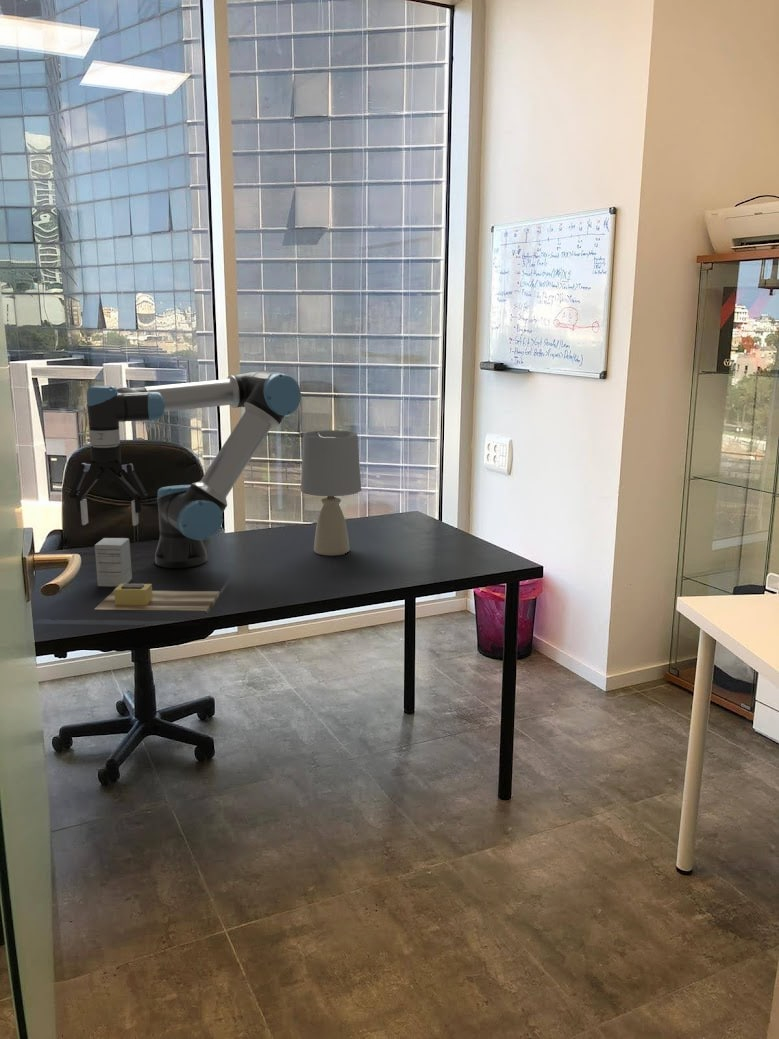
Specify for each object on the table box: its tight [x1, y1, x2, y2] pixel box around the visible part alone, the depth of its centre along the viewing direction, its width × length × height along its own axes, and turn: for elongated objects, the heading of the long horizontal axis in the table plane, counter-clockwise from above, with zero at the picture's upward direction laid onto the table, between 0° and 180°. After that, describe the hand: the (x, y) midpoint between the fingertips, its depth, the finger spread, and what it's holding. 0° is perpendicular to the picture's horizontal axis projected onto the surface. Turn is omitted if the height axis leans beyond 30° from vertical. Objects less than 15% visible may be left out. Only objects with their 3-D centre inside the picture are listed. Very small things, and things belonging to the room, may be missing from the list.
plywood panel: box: [94, 590, 221, 615], centre depth 221 cm, size 15×28×1 cm, turn 89°
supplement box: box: [94, 537, 133, 587], centre depth 234 cm, size 7×7×13 cm
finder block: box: [113, 583, 153, 605], centre depth 219 cm, size 5×8×4 cm, turn 89°
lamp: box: [300, 429, 362, 557], centre depth 266 cm, size 19×19×37 cm
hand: (110, 524), depth 231 cm, fingers open, 13 cm apart
